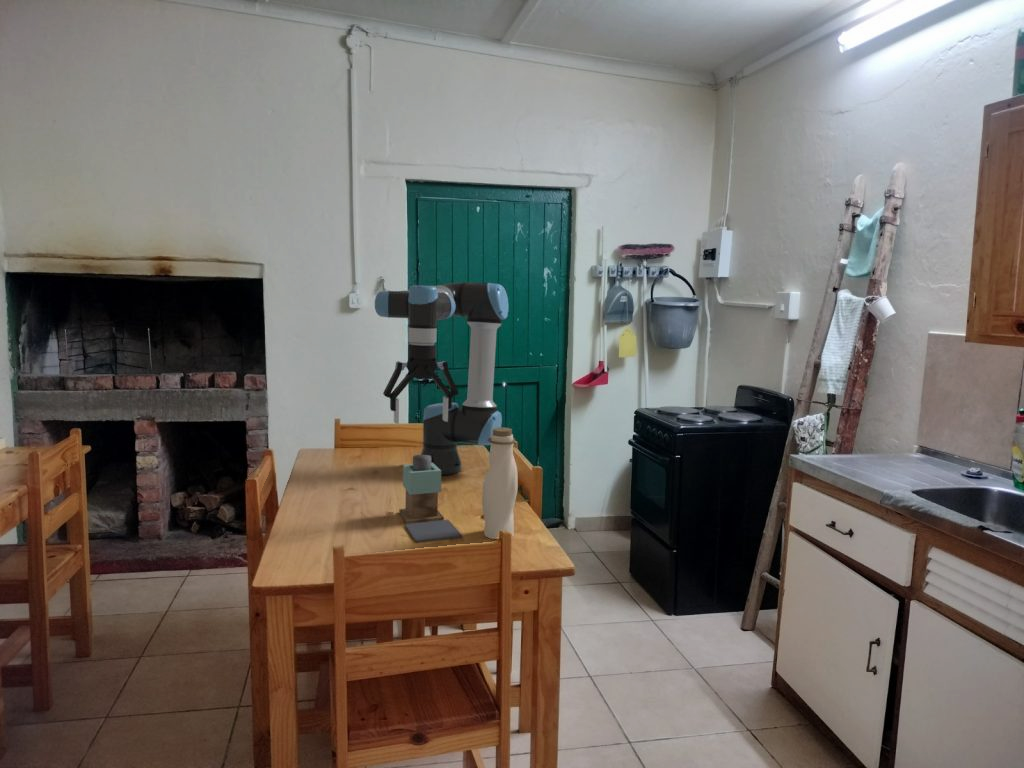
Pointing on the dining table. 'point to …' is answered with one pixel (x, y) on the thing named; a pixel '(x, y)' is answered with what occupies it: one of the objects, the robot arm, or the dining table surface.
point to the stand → (421, 498)
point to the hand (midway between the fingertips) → (421, 421)
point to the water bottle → (500, 484)
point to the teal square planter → (421, 480)
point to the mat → (432, 531)
